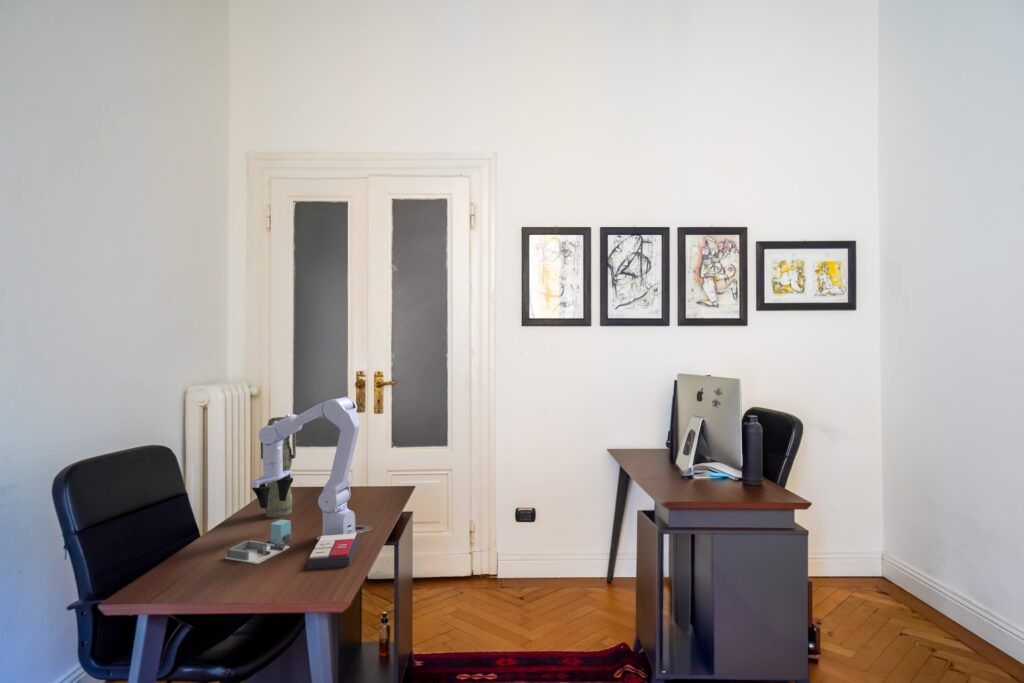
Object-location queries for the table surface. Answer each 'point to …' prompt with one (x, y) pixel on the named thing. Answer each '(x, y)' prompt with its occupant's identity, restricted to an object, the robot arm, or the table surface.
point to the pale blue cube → (281, 531)
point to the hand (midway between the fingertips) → (273, 504)
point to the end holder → (240, 549)
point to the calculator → (333, 551)
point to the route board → (263, 553)
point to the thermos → (274, 504)
